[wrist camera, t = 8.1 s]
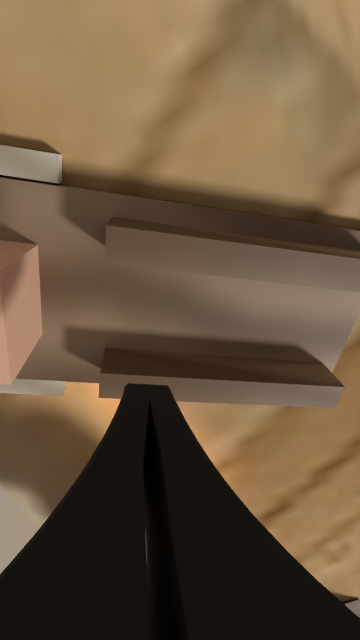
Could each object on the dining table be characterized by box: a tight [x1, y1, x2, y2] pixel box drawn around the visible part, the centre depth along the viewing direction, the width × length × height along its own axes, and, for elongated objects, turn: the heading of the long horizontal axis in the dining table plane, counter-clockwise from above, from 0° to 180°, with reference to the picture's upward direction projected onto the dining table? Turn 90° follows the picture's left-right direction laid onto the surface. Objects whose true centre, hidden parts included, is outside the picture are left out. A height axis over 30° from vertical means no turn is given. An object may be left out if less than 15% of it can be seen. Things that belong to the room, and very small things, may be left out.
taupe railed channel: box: [0, 145, 360, 408], centre depth 16 cm, size 14×26×4 cm, turn 81°
